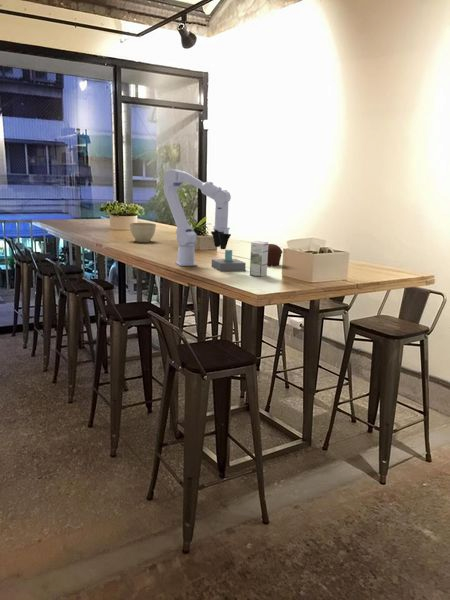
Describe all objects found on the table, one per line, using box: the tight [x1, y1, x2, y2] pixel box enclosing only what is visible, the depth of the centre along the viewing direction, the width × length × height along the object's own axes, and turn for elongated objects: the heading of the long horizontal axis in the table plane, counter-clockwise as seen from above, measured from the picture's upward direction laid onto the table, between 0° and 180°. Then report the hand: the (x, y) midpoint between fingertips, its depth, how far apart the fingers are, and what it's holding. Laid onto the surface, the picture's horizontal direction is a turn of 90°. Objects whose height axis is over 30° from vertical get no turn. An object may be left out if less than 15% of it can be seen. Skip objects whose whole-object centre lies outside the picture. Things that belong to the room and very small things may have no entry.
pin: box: [224, 249, 233, 262], centre depth 237 cm, size 3×3×8 cm
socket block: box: [210, 258, 246, 272], centre depth 238 cm, size 12×12×4 cm
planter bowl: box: [129, 222, 157, 243], centre depth 324 cm, size 16×16×11 cm
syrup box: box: [249, 240, 269, 278], centre depth 223 cm, size 6×6×14 cm
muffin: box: [267, 243, 283, 267], centre depth 253 cm, size 12×11×10 cm
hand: (220, 248), depth 236 cm, fingers open, 7 cm apart
